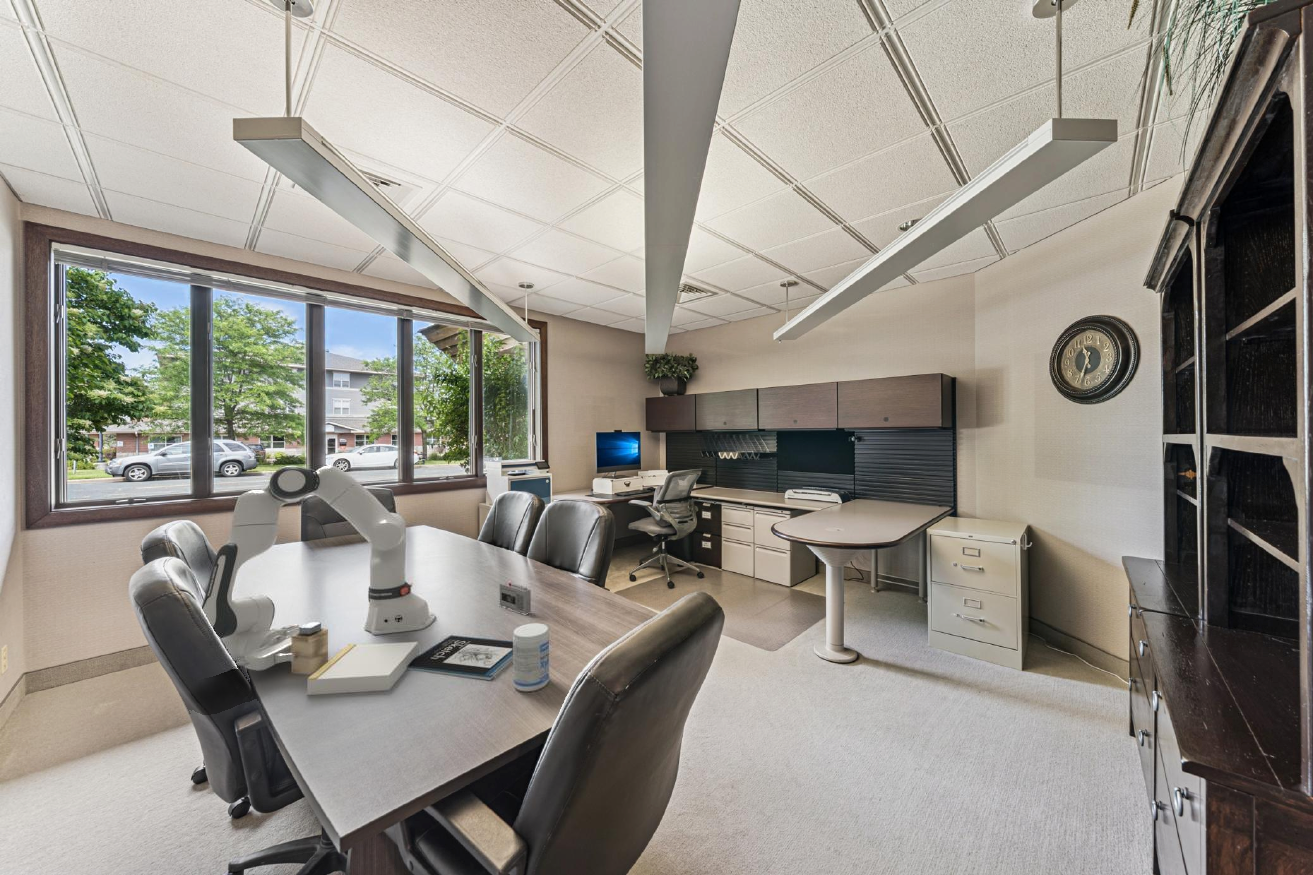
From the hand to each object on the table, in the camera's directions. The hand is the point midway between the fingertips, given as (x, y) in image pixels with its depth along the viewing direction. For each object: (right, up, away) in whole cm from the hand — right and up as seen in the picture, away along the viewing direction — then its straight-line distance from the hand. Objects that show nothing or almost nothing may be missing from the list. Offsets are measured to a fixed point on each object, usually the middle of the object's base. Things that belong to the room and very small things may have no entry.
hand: (310, 649), depth 135 cm
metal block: (0, +3, 0) cm, 4 cm away
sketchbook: (+44, -6, +7) cm, 45 cm away
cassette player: (+46, -6, +46) cm, 65 cm away
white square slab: (+19, -6, -3) cm, 19 cm away
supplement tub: (+67, -6, -8) cm, 67 cm away
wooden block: (0, -6, 0) cm, 6 cm away
